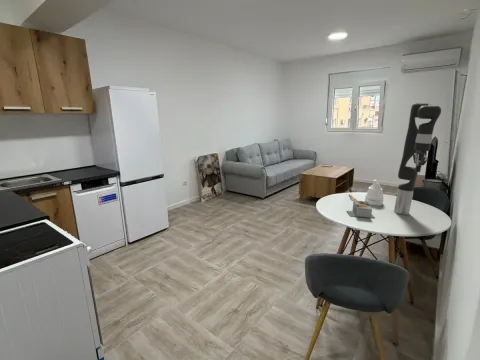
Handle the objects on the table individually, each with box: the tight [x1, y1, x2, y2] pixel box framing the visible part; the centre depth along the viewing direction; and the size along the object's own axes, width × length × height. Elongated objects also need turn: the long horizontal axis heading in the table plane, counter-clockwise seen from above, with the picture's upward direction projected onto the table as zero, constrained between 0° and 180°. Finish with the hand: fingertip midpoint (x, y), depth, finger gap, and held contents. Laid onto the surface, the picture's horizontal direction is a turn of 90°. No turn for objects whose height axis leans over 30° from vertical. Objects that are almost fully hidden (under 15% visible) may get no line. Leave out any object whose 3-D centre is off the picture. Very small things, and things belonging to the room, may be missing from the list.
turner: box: [348, 194, 358, 202], centre depth 216 cm, size 15×4×1 cm, turn 172°
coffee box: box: [352, 200, 373, 219], centre depth 180 cm, size 9×6×16 cm
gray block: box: [346, 210, 376, 219], centre depth 179 cm, size 10×16×1 cm, turn 82°
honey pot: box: [364, 179, 385, 206], centre depth 204 cm, size 13×13×18 cm
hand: (417, 171), depth 153 cm, fingers closed
